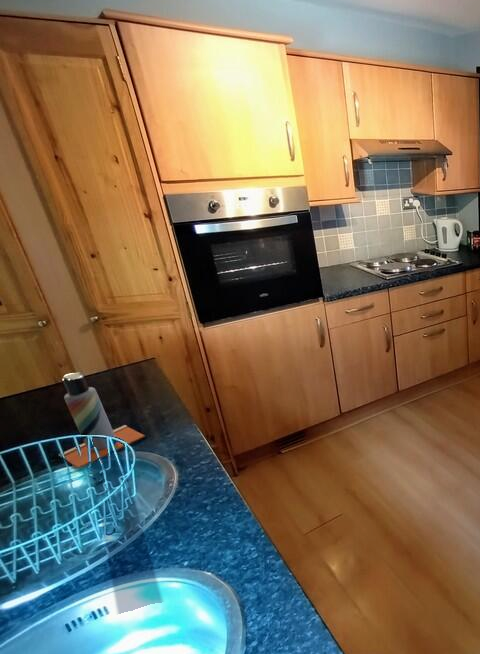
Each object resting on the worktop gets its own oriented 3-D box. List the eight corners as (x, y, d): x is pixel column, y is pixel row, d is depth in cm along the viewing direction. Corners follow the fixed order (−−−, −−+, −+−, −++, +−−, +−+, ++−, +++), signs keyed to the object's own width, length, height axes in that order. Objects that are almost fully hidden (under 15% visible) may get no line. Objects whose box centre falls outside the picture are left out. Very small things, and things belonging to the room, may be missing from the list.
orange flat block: (78, 468, 106) (77, 466, 106) (58, 455, 110) (57, 453, 110) (145, 436, 117) (144, 434, 117) (124, 426, 122) (124, 424, 121)
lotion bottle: (93, 440, 115) (62, 371, 107) (120, 435, 117) (92, 367, 109) (83, 453, 110) (49, 382, 102) (111, 448, 112) (81, 378, 104)
